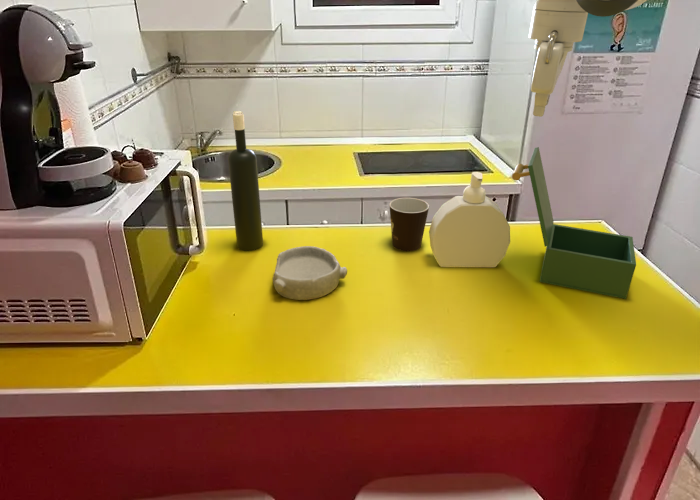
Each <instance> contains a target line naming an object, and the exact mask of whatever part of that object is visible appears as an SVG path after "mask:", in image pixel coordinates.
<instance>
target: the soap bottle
mask: <svg viewBox="0 0 700 500" xmlns="http://www.w3.org/2000/svg"><path fill="white" fill-rule="evenodd" d="M483 179H484V178H483V172H480V171H472V172H471V176H470V184H469V185H466V187H465V188H464V189H463V192H462V195H455V196H453V197H452V198H450V199H449V200H447V201H446V202H444V203H442V205H441V206H440V207H439V209H438V210H437V211H436V213H435V214H434V215H433V217H432V220H431V223H430V227H429V230H428V235H429V236H428V237H429V244H430V249H431V252H432V255H433V257H434V259H435V261H436V262H437V264H438V266H439V267H441V268H496V267H497V266H498V265H499V264H500V262H502V261H503V259H504V258H505V257H506V255H507V252H508V249H509V246H510V244H511V226H510V223H509V222H508V220H507V218H506V216H505V214H504V212H503V211H502V209H501V207H500V206H499V205H498V204H497V203H496V202H494V201H493V200H492V199H491V198H490V197H488V196H486V195H487V194H486V192H487V191H486V190H485V188H484V187H482V182H483Z"/></svg>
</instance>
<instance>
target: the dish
mask: <svg viewBox="0 0 700 500" xmlns="http://www.w3.org/2000/svg"><path fill="white" fill-rule="evenodd" d="M347 275H348V269H347V267H346V266H343V267H342V266H341V265H340V263H339V261H338V259H337V258H336V256H335V255H334V254H333V253H332V252H331V251H329V250H326V249H325V248H320V247H318V246H314V245H313V246H311V245H305V246H296V247H292V248H288V249H286V250H283V251H281V252H280V253H278V255H277V258H276V264H275V268H274V272H273V276H272V283H273V287H274V289H275V291H276V292H277V293H278V295H280V296H282V297H283V298H286V299H289V300H296V301H298V300H299V301H308V300H315V299H319V298H321V297H324V296H326V295H329V294H330V293H332V292H333V291H334V290H335V289H336V288H337V287H338V285H339V283H340V280H343V279H345V278H346V277H347Z"/></svg>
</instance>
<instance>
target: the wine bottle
mask: <svg viewBox="0 0 700 500" xmlns="http://www.w3.org/2000/svg"><path fill="white" fill-rule="evenodd" d="M232 123H233V130H234V137H235V148H236V149H233V150H231V152H230V153H229V154H228V156H227V163H228V174H229V181H230V182H229V183H230V192H231V200H232V201H231V203H232V211H233V219H234V220H233V221H234V230H235V240H236V247H237V249H238V250H240V251H243V252H254V251H258V250H260V249H262V248H263V246H264V238H263V223H262V212H261V210H262V209H261V199H260V185H259V173H258V160H257V159H258V158H257V155H256V154H255V152H254V151H253V150H252V149H249V148H247V142H246V140H247V139H246V130H245V129H246V124H245V114H244V113H243V111H242V110H237V111H236V110H233V113H232Z"/></svg>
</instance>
